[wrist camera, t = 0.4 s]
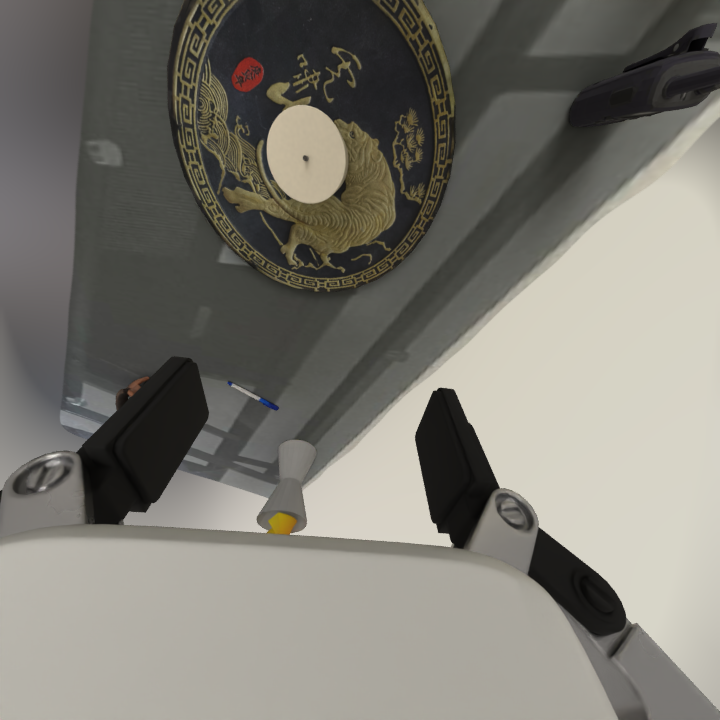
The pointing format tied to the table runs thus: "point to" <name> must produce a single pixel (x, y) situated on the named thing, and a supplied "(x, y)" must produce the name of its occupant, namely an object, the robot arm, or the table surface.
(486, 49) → the table surface
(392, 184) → the decorative plate
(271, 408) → the ballpoint pen
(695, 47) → the two-way radio
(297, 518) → the lava lamp
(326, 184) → the candle
